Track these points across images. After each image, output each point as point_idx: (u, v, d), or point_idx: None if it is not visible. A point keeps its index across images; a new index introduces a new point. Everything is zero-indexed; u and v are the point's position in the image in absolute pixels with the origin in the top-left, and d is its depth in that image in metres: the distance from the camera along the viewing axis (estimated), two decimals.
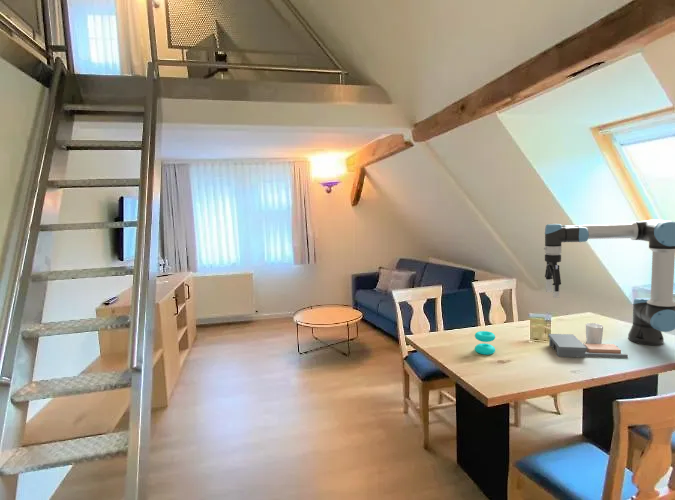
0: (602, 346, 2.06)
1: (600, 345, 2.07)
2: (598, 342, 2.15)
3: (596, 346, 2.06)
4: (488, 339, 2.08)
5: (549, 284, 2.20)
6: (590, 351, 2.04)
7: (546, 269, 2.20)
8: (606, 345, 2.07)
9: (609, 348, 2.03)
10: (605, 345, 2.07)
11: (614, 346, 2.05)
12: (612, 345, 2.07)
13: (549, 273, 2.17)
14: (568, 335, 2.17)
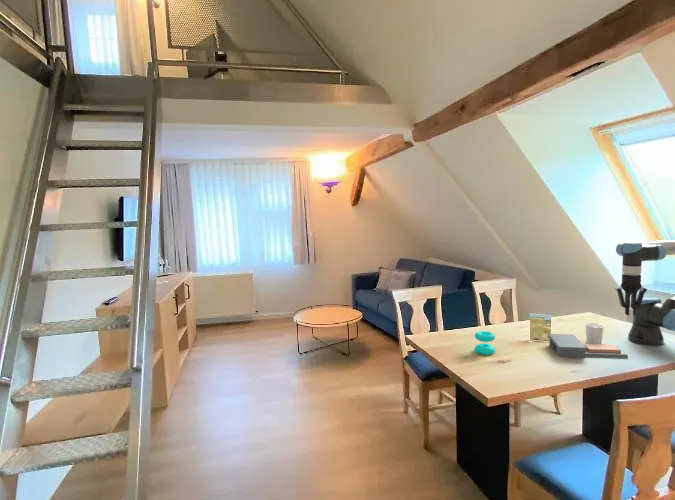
0: (602, 346, 2.06)
1: (600, 345, 2.07)
2: (598, 342, 2.15)
3: (596, 346, 2.06)
4: (488, 339, 2.08)
5: None
6: (590, 351, 2.04)
7: (638, 295, 2.00)
8: (606, 345, 2.07)
9: (609, 348, 2.03)
10: (605, 345, 2.07)
11: (614, 346, 2.05)
12: (612, 345, 2.07)
13: (631, 297, 2.00)
14: (568, 335, 2.17)
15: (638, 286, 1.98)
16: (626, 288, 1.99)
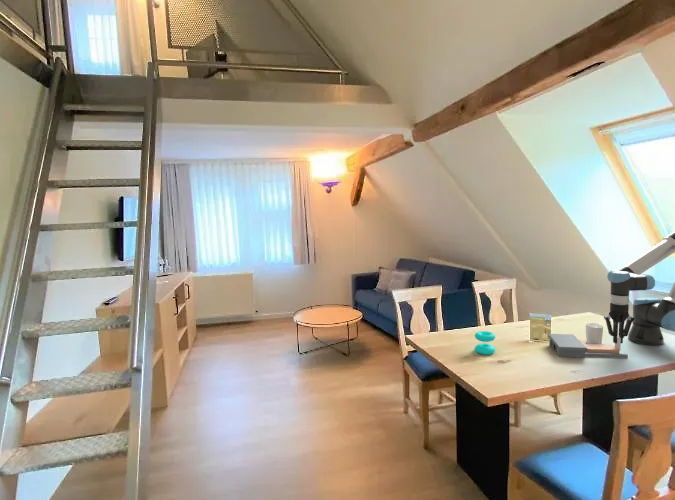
0: (601, 346, 2.06)
1: (599, 345, 2.07)
2: (598, 342, 2.15)
3: (595, 346, 2.06)
4: (488, 339, 2.08)
5: None
6: (589, 351, 2.04)
7: (626, 324, 2.03)
8: (605, 345, 2.07)
9: (608, 348, 2.03)
10: (604, 345, 2.07)
11: (613, 346, 2.05)
12: (611, 345, 2.07)
13: (619, 326, 2.03)
14: (568, 335, 2.17)
15: (626, 315, 2.01)
16: (614, 317, 2.02)
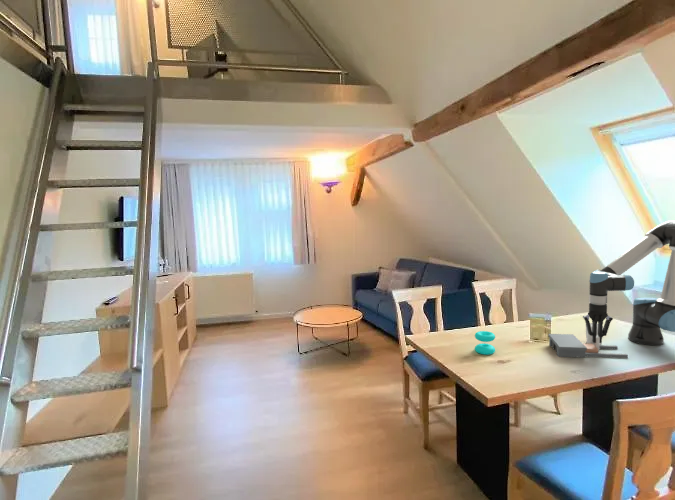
0: None
1: None
2: None
3: None
4: (488, 339, 2.08)
5: None
6: None
7: (605, 324, 2.05)
8: (584, 344, 2.09)
9: (587, 347, 2.05)
10: None
11: (592, 345, 2.07)
12: (590, 344, 2.09)
13: (598, 326, 2.05)
14: (568, 335, 2.17)
15: (604, 315, 2.03)
16: (593, 317, 2.04)
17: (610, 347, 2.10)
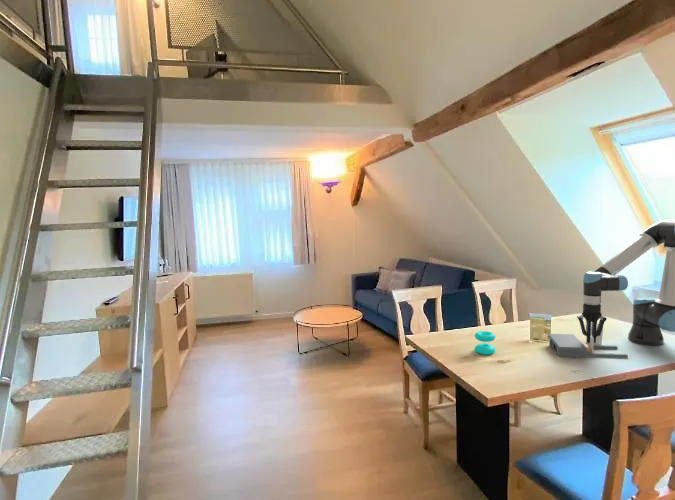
0: None
1: None
2: (598, 342, 2.15)
3: None
4: (488, 339, 2.08)
5: None
6: None
7: (599, 324, 2.06)
8: None
9: None
10: None
11: (586, 345, 2.08)
12: (584, 344, 2.09)
13: (592, 326, 2.06)
14: (568, 335, 2.17)
15: (598, 315, 2.03)
16: (587, 317, 2.05)
17: (610, 347, 2.10)
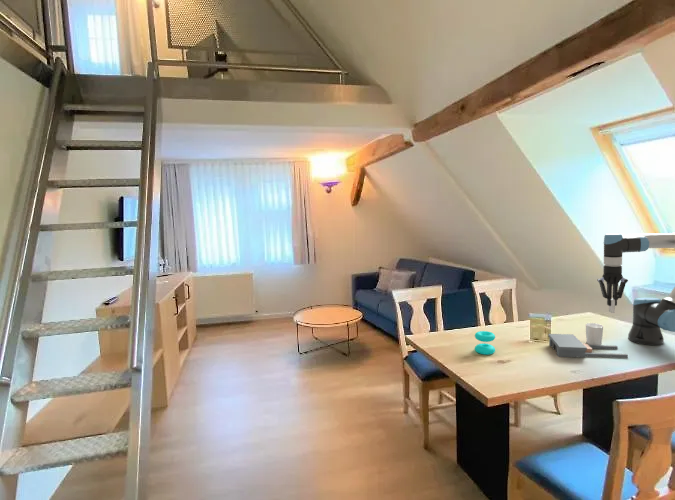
0: None
1: None
2: (598, 342, 2.15)
3: None
4: (488, 339, 2.08)
5: None
6: None
7: (619, 286, 2.03)
8: None
9: None
10: None
11: (586, 345, 2.08)
12: (584, 344, 2.09)
13: (613, 288, 2.03)
14: (568, 335, 2.17)
15: (619, 277, 2.00)
16: (608, 279, 2.02)
17: (610, 347, 2.10)
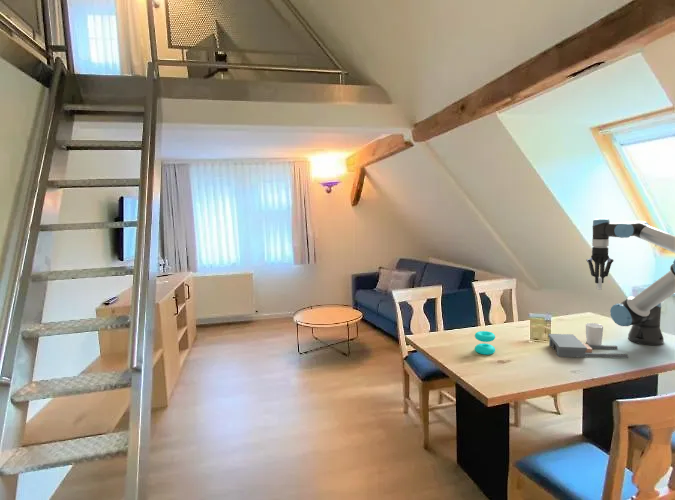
0: None
1: None
2: (598, 342, 2.15)
3: None
4: (488, 339, 2.08)
5: None
6: None
7: (606, 266, 2.27)
8: None
9: None
10: None
11: (586, 345, 2.08)
12: (584, 344, 2.09)
13: (600, 268, 2.27)
14: (568, 335, 2.17)
15: (606, 257, 2.24)
16: (596, 259, 2.25)
17: (610, 347, 2.10)
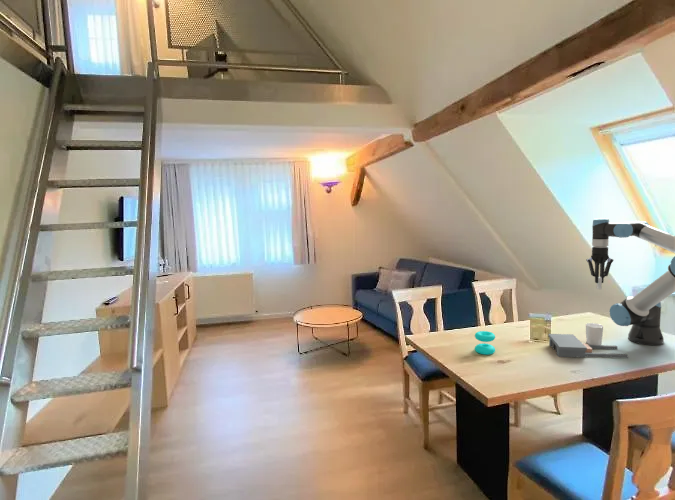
0: None
1: None
2: (598, 342, 2.15)
3: None
4: (488, 339, 2.08)
5: None
6: None
7: (606, 266, 2.27)
8: None
9: None
10: None
11: (586, 345, 2.08)
12: (584, 344, 2.09)
13: (600, 267, 2.27)
14: (568, 335, 2.17)
15: (606, 257, 2.25)
16: (595, 259, 2.26)
17: (610, 347, 2.10)
